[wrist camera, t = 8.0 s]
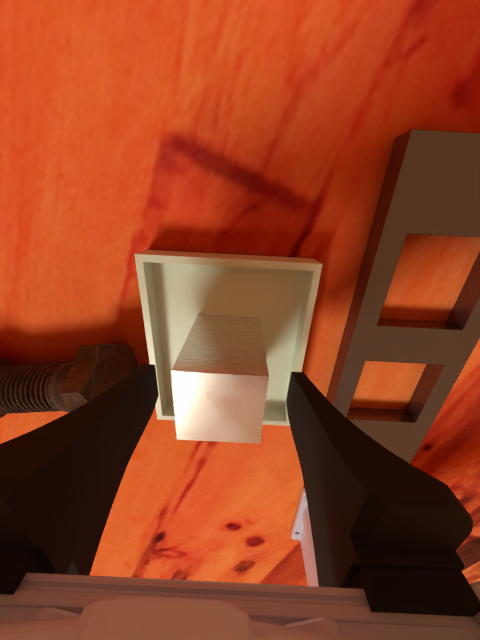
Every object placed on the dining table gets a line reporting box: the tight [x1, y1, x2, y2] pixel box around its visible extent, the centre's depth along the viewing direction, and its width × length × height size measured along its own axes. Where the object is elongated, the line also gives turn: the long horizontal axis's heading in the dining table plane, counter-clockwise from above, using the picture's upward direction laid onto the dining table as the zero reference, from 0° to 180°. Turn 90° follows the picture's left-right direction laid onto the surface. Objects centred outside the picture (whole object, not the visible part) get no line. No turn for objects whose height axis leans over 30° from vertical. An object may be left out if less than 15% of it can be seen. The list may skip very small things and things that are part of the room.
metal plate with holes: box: [326, 129, 480, 464], centre depth 16 cm, size 24×8×1 cm, turn 177°
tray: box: [135, 250, 323, 426], centre depth 15 cm, size 12×10×2 cm
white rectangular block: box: [171, 314, 269, 444], centre depth 13 cm, size 4×4×6 cm
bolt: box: [0, 344, 138, 418], centre depth 16 cm, size 6×5×15 cm
